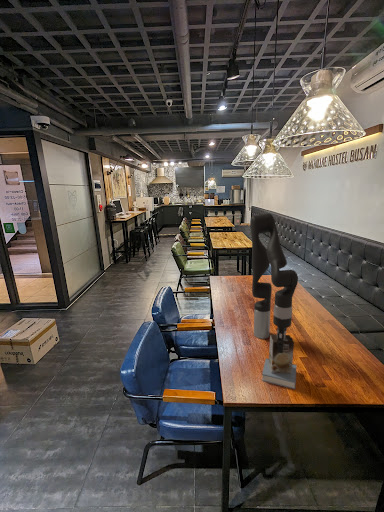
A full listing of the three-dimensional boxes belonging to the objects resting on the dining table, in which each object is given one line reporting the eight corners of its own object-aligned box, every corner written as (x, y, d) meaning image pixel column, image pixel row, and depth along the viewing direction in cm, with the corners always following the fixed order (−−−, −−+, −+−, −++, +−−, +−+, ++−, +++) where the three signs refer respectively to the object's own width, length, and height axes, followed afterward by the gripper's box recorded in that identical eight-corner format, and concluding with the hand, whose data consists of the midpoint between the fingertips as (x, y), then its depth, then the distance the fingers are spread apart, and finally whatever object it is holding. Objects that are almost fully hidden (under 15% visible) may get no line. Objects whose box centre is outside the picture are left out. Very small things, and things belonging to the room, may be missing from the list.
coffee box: (271, 373, 112) (272, 342, 108) (268, 364, 118) (269, 334, 114) (292, 374, 111) (294, 342, 107) (288, 364, 117) (289, 334, 113)
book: (265, 365, 123) (265, 358, 122) (295, 372, 118) (296, 364, 117) (261, 381, 112) (262, 373, 112) (295, 389, 107) (295, 382, 106)
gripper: (275, 306, 115) (273, 337, 119) (271, 320, 103) (270, 354, 107) (292, 308, 112) (290, 340, 116) (291, 323, 100) (288, 358, 104)
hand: (280, 347), depth 111 cm, fingers open, 8 cm apart
